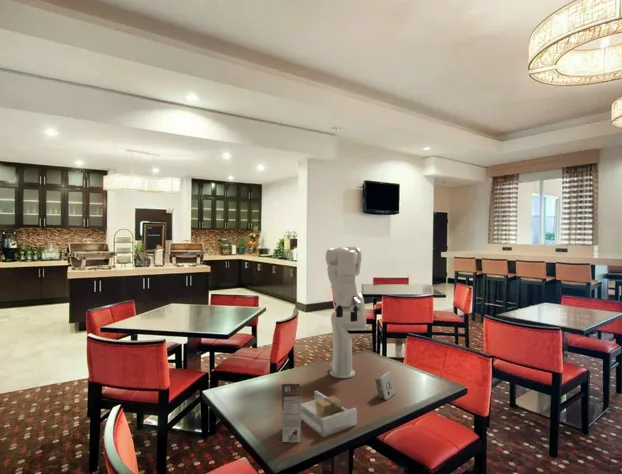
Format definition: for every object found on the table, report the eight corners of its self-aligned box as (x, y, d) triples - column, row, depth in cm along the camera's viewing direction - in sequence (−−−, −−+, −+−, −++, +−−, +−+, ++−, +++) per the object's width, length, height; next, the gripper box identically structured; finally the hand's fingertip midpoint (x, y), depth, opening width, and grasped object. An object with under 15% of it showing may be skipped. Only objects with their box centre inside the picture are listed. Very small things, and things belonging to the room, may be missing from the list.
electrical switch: (386, 401, 151) (384, 378, 152) (375, 398, 154) (373, 376, 155) (396, 393, 158) (394, 371, 159) (385, 391, 162) (384, 370, 162)
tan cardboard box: (316, 420, 134) (316, 400, 134) (333, 414, 138) (333, 395, 138) (324, 426, 129) (323, 406, 129) (341, 419, 134) (341, 400, 134)
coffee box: (281, 429, 129) (281, 383, 129) (299, 428, 130) (299, 382, 130) (281, 443, 120) (281, 394, 120) (301, 442, 120) (301, 393, 121)
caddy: (288, 409, 144) (288, 395, 144) (319, 400, 152) (319, 386, 152) (323, 437, 124) (323, 420, 124) (356, 424, 132) (356, 408, 132)
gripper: (327, 277, 160) (327, 316, 160) (352, 281, 146) (352, 324, 146) (340, 276, 164) (340, 314, 164) (366, 280, 150) (366, 321, 150)
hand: (346, 319), depth 155 cm, fingers open, 9 cm apart
